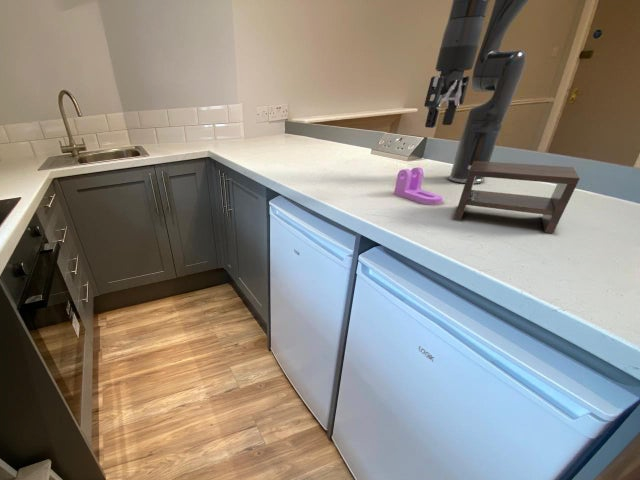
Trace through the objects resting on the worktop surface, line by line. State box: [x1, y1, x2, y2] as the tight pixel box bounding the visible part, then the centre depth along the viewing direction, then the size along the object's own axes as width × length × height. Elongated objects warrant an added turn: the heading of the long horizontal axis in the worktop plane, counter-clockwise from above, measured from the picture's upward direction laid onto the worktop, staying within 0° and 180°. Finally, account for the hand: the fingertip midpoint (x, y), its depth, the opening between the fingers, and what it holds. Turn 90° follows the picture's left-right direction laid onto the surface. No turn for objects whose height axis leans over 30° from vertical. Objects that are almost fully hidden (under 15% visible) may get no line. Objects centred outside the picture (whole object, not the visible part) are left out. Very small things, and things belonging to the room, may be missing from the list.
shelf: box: [453, 161, 580, 234], centre depth 75 cm, size 11×18×11 cm, turn 55°
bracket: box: [393, 167, 443, 206], centre depth 91 cm, size 13×6×7 cm, turn 20°
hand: (438, 126), depth 84 cm, fingers open, 8 cm apart
